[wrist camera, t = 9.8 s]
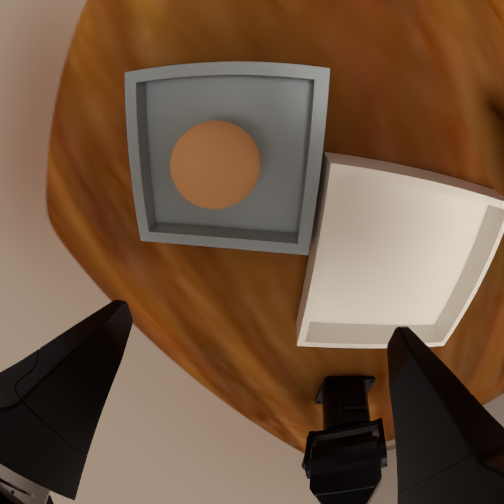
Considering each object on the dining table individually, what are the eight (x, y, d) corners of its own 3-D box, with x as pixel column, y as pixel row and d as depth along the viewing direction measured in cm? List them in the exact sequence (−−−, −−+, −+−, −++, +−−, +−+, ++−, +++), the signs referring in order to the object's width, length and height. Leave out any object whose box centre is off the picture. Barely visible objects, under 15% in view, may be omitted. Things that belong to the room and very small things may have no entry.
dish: (434, 324, 24) (443, 345, 22) (296, 320, 25) (296, 345, 23) (492, 189, 16) (513, 204, 13) (323, 151, 17) (330, 163, 14)
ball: (261, 193, 18) (255, 228, 14) (187, 189, 19) (160, 222, 14) (264, 117, 16) (260, 127, 11) (184, 117, 16) (152, 128, 12)
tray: (306, 238, 21) (308, 255, 19) (152, 226, 21) (140, 240, 20) (324, 71, 14) (330, 68, 12) (140, 72, 15) (124, 72, 13)
